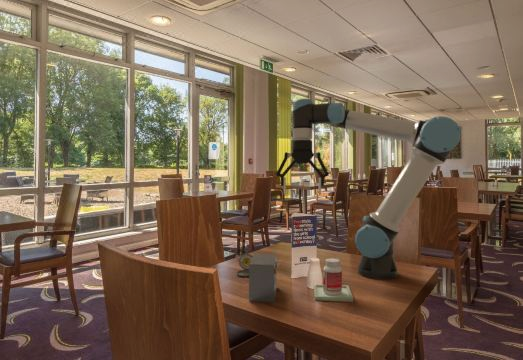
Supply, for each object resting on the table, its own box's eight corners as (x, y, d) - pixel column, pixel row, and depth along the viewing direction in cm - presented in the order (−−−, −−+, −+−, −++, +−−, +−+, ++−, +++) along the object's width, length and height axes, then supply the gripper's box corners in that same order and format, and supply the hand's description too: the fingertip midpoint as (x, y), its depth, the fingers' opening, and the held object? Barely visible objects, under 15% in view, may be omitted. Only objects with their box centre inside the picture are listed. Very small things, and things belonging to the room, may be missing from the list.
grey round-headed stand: (240, 278, 142) (240, 252, 141) (232, 272, 149) (232, 247, 149) (259, 275, 145) (259, 250, 144) (251, 269, 153) (251, 245, 152)
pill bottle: (345, 293, 123) (346, 260, 123) (332, 297, 120) (332, 263, 119) (332, 288, 129) (332, 256, 128) (319, 291, 125) (319, 259, 125)
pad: (348, 288, 130) (348, 285, 130) (353, 301, 118) (353, 297, 118) (313, 287, 131) (313, 284, 131) (315, 300, 119) (315, 296, 119)
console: (278, 287, 131) (278, 253, 131) (276, 302, 117) (276, 264, 117) (253, 286, 132) (253, 253, 131) (247, 301, 118) (247, 264, 117)
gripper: (334, 140, 146) (333, 193, 147) (271, 140, 149) (271, 193, 150) (336, 139, 139) (335, 195, 140) (269, 139, 141) (269, 195, 142)
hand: (302, 194), depth 145 cm, fingers open, 13 cm apart
